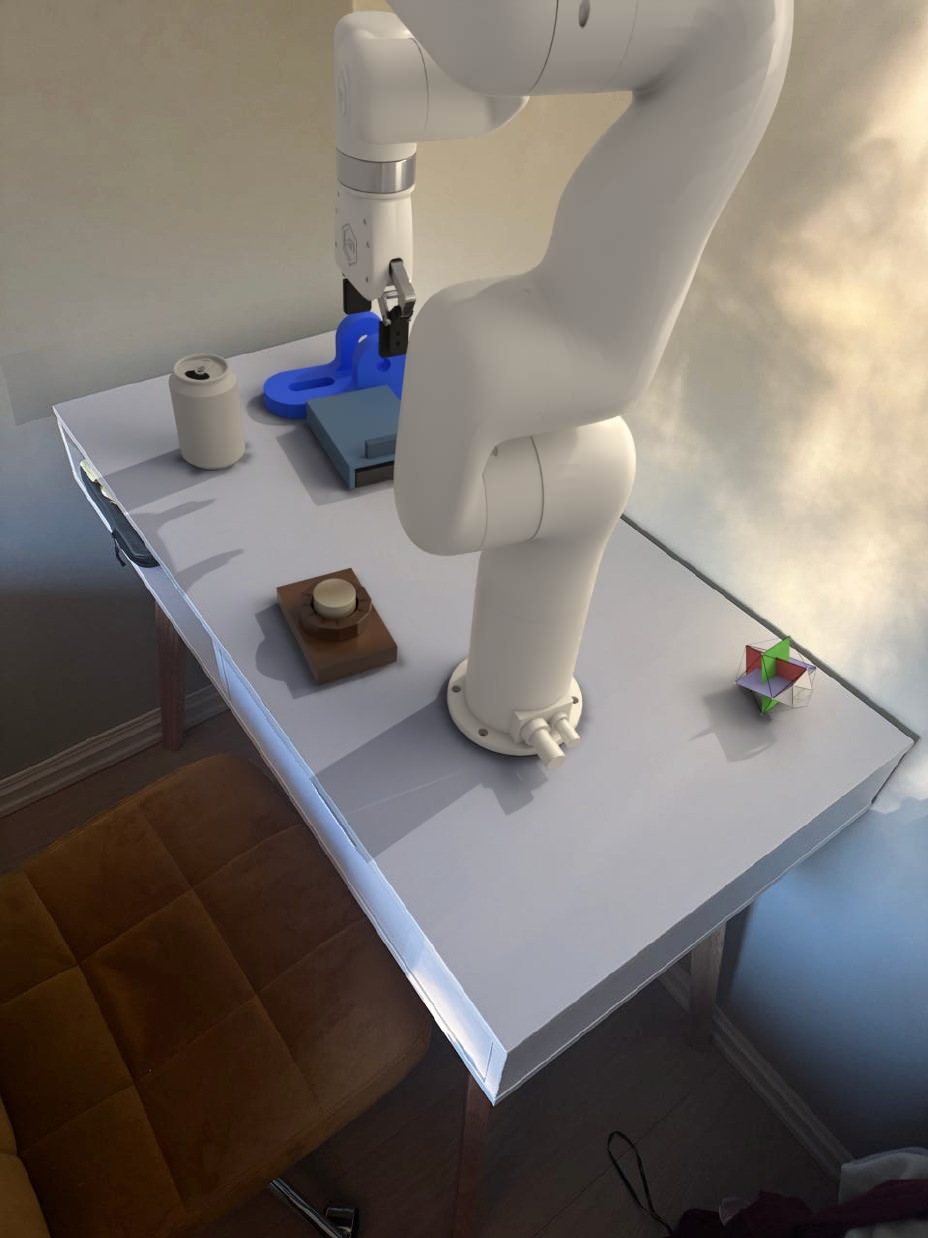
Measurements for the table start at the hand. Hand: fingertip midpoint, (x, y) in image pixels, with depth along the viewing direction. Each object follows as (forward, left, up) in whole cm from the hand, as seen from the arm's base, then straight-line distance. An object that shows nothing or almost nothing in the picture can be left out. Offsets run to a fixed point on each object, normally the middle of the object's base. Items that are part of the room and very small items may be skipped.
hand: (374, 332), depth 99 cm
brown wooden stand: (-25, +15, -17) cm, 34 cm away
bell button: (-25, +15, -13) cm, 32 cm away
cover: (+3, 0, -17) cm, 17 cm away
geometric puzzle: (-49, -20, -17) cm, 56 cm away
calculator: (+3, 0, -17) cm, 17 cm away
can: (+8, +18, -17) cm, 26 cm away
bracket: (+16, 0, -17) cm, 23 cm away
